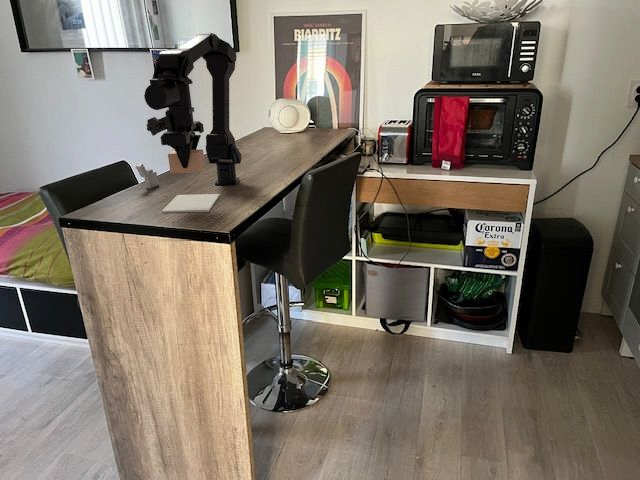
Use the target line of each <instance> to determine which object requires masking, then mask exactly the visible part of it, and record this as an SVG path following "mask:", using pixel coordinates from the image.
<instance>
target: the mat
mask: <svg viewBox="0 0 640 480" xmlns="http://www.w3.org/2000/svg"><path fill="white" fill-rule="evenodd" d="M220 196H221V195H220V193H214V194H213V193H212V194H211V193H206V194H202V193H201V194H199V193H198V194H177V195H176V196H174V198H173V199H172V200H170V202H169V203H168V204H167V205H166V206H165V207H164V208H163V209H162V210H161V213H163V214H164V213H167V214H168V213H170V214H171V213H205V212H206V213H209V212H210V210H212V208H213V206H214V205H215V203H216V202H217V201H218V199H219V198H220Z"/></svg>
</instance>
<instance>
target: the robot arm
mask: <svg viewBox="0 0 640 480" xmlns="http://www.w3.org/2000/svg"><path fill="white" fill-rule="evenodd" d="M200 58H201V59H203V60H204V62H205V64H206V65H205V66H206V69H207V71H208V73H209V75H210V76H211V83H212V84H211V85H212V86H211V88H212V89H211V90H212V93H211V94H212V98H211V99H212V104H211V105H212V108H211V109H212V129H211V131H210V133H207V134H206V136H205V152H206V156H207V159H208V162H209V164H213V165H214V164H215V166H216V176H217V180H216V181H215V182H214V185H215V186H221V185H222V186H227V185H228V186H229V185H230V186H233V185H237V184H238V183H239V180H240V177H237V169H236V165H238V164H241V162H242V153H241V152H240V151H239V150H240V149H238V146H237V145H236V138H235V137H234V135H233V133H232V131H231V129H230V78H231V77H232V75H233V73H234V72H235V69H236V62H237V52H236V50H235V49H234V48H233V46H232V45H231V44H230V43H229V42H227V41H225V40H223V39H221V38H219V36H218V35H217V34H216V33H213V32H200V33H198V34H197V35H196V36H195V37H193V38H192V39H190V40H189V41H188V42H186V43H184V44H183V45H181V46H180V47H177V48H173V49H172V48H171V49H167V50H162V51H160V52H159V53H158V55H157V58H156V62H155V66H154V70H153V74H152V78H150V79H149V85H148V86H147V87H146V88H145V91H144V95H143V98H144V101H145V103H146V105H147V106H148V107H149V108H151V109H152V110H154V111H159V110H164V109H167V110H165V115H164V116H163V117H160V118H157V117H156V116H153V117H151V118H149V119H147V121H146V122H147V124H146V125H145V126H146V131H148V132H150V134H151V135H152V137H153V136H156V135H158V134H159V133H161V132H163V131H165V132H163V133H162V134H161V136H160V144H161V146H169V147H171V148H172V149H173V150H175V151H176V153H177V156H178V158H179V160H180V162H181V165H182V167H183V168H187V167H188V163H189V158H190V153H191V150H198V149H197V147H198V146H199V142H200V139H201V136H202V135H201V134H202V133H204V132H205V129H204V128H205V127H204V124H203V123H202V122H201V121H195V120H194V114H193V113H194V112H195V107H194V106H193V105H192V98H191V97H192V96H191V91H190V90H191V88H190V85H193V80H192V79H191V78H189V75H190V74H191V73H192V71H193V70H194V69H195V66H194V63H196V62H197V61H198V60H199V59H200ZM196 132H198V133H199V134H196Z"/></svg>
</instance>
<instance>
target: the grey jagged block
mask: <svg viewBox="0 0 640 480" xmlns="http://www.w3.org/2000/svg"><path fill="white" fill-rule="evenodd" d="M135 169H136V170H137V172H138V174H139V176H140V177H141V178H144V183H145V184H144V185H145V188H146V189H152V188H154V187H157V186H159V181H158V180H159V179H158V173H157V171H156V170H154V168H149V169H146V168H145V165H144V164H143V163H137V164H136V165H135Z"/></svg>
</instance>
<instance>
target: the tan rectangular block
mask: <svg viewBox="0 0 640 480" xmlns="http://www.w3.org/2000/svg"><path fill="white" fill-rule="evenodd" d="M167 156H168V157H167V158H168V164H169V172H170V174H180V173H181V174H182V173H183V174H188V173H190V174H191V173H193V174H194V173H202V172H203V171H204V170H205V169H206V165H205V155H204V149H200V148H199V149H196V150H191V153H190V158H189V163H188V167H187V168H183V167H182V165H181V162H180V160H179V158H178V156H177V153H176V151H175V150H174V149H173V150H171V151H170V152H168V153H167Z"/></svg>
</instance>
